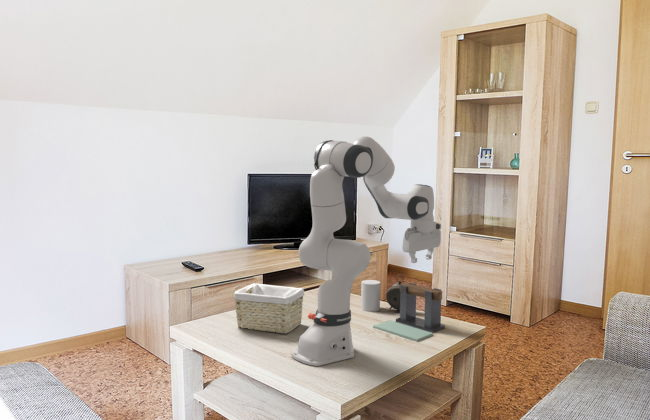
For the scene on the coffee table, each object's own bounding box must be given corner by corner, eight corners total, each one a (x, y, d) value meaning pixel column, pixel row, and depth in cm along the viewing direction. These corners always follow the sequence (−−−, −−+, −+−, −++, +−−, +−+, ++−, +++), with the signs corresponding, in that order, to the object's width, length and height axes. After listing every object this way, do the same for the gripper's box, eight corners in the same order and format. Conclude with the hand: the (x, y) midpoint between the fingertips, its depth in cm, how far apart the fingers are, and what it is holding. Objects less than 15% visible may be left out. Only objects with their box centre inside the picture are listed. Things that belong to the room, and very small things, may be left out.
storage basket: (232, 328, 208) (231, 291, 206) (253, 316, 222) (253, 282, 221) (287, 336, 198) (287, 298, 197) (305, 323, 213) (305, 287, 212)
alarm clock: (413, 311, 230) (413, 274, 228) (409, 315, 225) (409, 277, 223) (388, 308, 234) (389, 272, 233) (384, 311, 230) (385, 274, 228)
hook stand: (432, 332, 203) (433, 293, 201) (395, 321, 216) (396, 285, 214) (444, 328, 208) (445, 290, 206) (407, 317, 221) (408, 281, 219)
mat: (416, 341, 193) (416, 339, 193) (373, 327, 208) (373, 325, 208) (432, 335, 200) (433, 333, 200) (389, 322, 215) (389, 320, 215)
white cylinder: (382, 308, 235) (383, 281, 233) (374, 312, 228) (374, 285, 227) (366, 305, 239) (366, 279, 238) (357, 309, 232) (358, 282, 231)
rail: (437, 300, 203) (437, 292, 203) (399, 291, 216) (400, 284, 216) (442, 299, 205) (442, 291, 205) (404, 290, 218) (405, 282, 218)
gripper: (412, 229, 198) (411, 266, 200) (443, 224, 212) (443, 258, 214) (398, 227, 203) (398, 263, 204) (430, 222, 217) (429, 256, 218)
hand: (421, 260), depth 209 cm, fingers open, 8 cm apart
